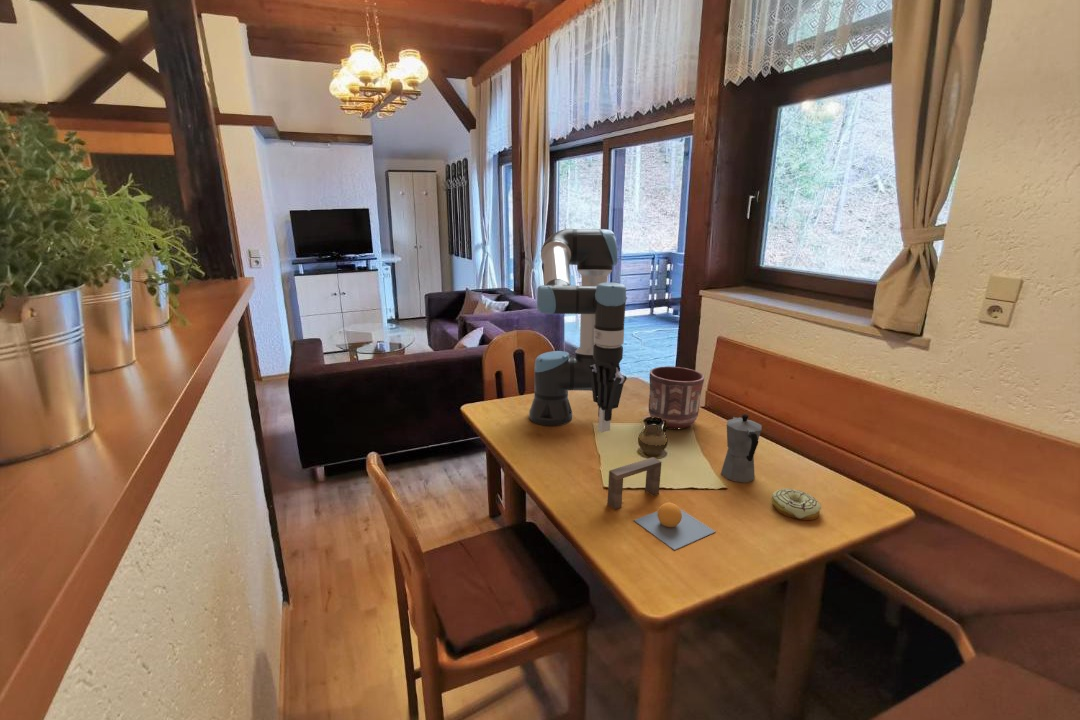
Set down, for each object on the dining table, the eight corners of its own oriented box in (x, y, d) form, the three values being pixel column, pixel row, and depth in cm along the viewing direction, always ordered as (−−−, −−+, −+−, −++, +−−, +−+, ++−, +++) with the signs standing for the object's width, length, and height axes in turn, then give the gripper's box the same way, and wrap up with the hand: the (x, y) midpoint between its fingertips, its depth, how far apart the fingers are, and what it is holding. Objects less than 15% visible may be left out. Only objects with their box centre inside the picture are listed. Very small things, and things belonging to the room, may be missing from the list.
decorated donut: (803, 528, 122) (806, 513, 121) (762, 507, 130) (764, 493, 129) (827, 514, 127) (829, 500, 126) (786, 494, 136) (788, 481, 135)
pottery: (658, 435, 171) (663, 382, 166) (638, 415, 187) (642, 367, 182) (708, 431, 174) (714, 380, 169) (683, 412, 191) (688, 365, 186)
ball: (672, 528, 117) (657, 531, 121) (690, 522, 119) (674, 525, 124) (664, 504, 118) (649, 507, 123) (682, 498, 121) (667, 501, 125)
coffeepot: (713, 463, 152) (719, 405, 147) (745, 464, 152) (753, 406, 147) (731, 490, 137) (739, 427, 132) (767, 491, 137) (776, 427, 132)
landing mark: (633, 520, 123) (634, 520, 123) (673, 505, 130) (673, 504, 130) (674, 550, 113) (674, 549, 113) (715, 532, 119) (715, 531, 119)
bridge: (607, 503, 130) (609, 470, 128) (650, 488, 138) (653, 457, 135) (615, 509, 128) (617, 475, 125) (658, 494, 135) (661, 461, 133)
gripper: (581, 340, 136) (578, 424, 143) (613, 352, 126) (608, 442, 132) (603, 337, 140) (600, 419, 147) (636, 348, 130) (631, 436, 136)
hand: (604, 430), depth 139 cm, fingers closed
